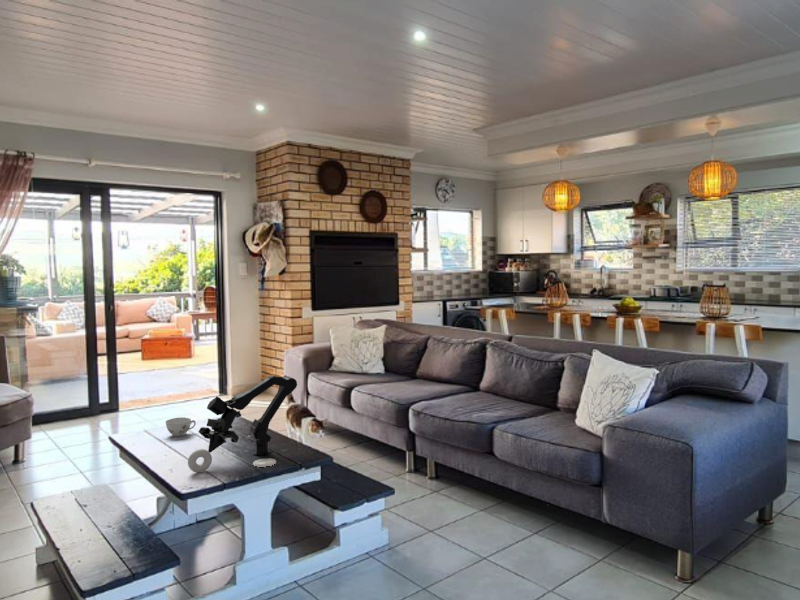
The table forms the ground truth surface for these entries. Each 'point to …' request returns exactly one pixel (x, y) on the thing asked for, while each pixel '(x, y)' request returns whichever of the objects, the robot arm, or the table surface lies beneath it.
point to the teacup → (179, 425)
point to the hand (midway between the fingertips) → (209, 451)
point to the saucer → (264, 462)
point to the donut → (195, 456)
